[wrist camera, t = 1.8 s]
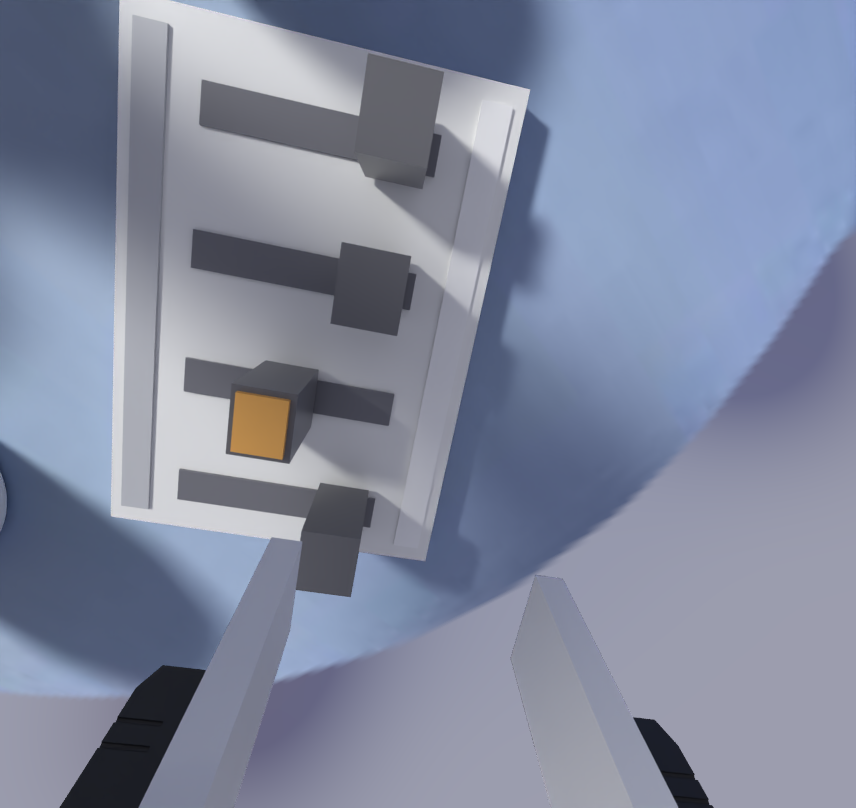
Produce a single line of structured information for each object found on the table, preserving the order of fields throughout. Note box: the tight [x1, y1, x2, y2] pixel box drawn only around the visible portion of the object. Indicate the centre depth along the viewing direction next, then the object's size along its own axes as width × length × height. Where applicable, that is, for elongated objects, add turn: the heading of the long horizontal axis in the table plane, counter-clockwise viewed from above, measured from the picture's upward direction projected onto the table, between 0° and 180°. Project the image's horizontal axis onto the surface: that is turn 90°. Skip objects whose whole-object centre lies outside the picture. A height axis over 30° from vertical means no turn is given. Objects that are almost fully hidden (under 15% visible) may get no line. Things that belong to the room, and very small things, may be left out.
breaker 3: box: [354, 53, 444, 189], centre depth 21 cm, size 3×4×6 cm
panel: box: [111, 0, 530, 561], centre depth 28 cm, size 20×28×2 cm
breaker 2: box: [296, 483, 369, 597], centre depth 27 cm, size 3×4×6 cm
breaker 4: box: [330, 242, 411, 336], centre depth 23 cm, size 3×4×6 cm
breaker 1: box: [226, 360, 319, 464], centre depth 25 cm, size 3×4×6 cm
